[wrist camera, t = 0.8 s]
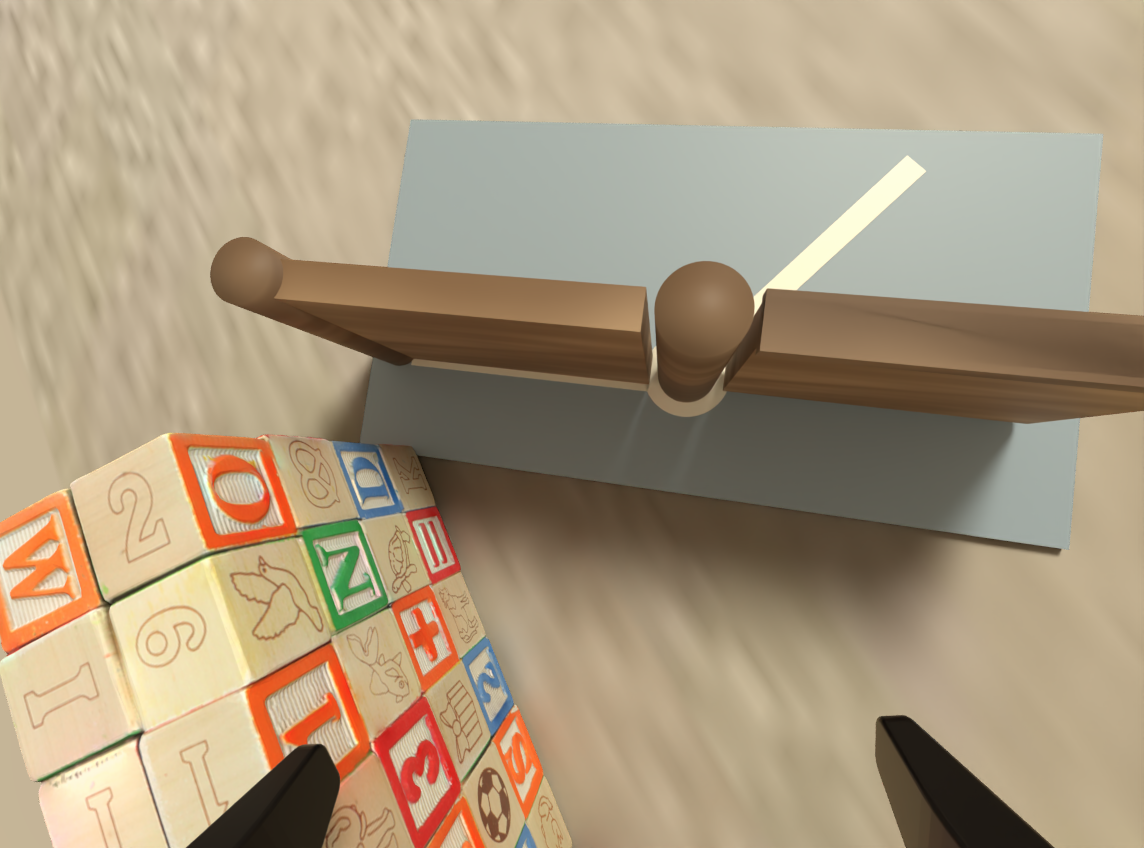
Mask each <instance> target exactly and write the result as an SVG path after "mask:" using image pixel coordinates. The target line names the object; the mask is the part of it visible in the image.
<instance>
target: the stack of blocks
mask: <svg viewBox="0 0 1144 848" xmlns="http://www.w3.org/2000/svg"><path fill="white" fill-rule="evenodd" d="M70 488H71V489H64V490H61V491H58V492H55V493H53V494H51V495H49V496H47V497H45V498H43V499H42V500H40V501H38V502H36V503H34V504H33V505H31V506H29V507H27V508H25V509H23V510H22V511H20V512H18V513H16V514H15V515H13V516H11V517H9V518H7V519H5V520H4V521H2V522H0V640H1V644H2V648H3V650H4V651H5V652H6V653H7V654H8V655H7V656H6V657H5V658H4V659H3V660H1V661H0V676H1V679H2V683H3V687H4V691H5V694H6V698H7V702H8V705H9V709H10V712H11V716H12V719H13V723H14V727H15V730H16V733H17V737H18V741H19V744H20V748H21V751H22V755H23V758H24V761H25V765H26V768H27V771H28V775H29V777H30V779H31V780H32V781H34V782H42V784H41V787H40V790H39V797H38V798H39V803H40V806H41V810H42V813H43V817H44V820H45V823H46V826H47V829H48V832H49V835H50V839H51V842H52V845H53V848H186V847H187V846H188V845H189V844H190V843H191V842H192V841H194V840H195V839H196V838H197V837H198V836H199V835H200V834H201V833H202V832H203V831H205V830H206V829H207V828H208V827H209V826H210V825H211V824H212V823H213V822H214V821H216V820H217V819H218V818H219V817H220V816H221V815H222V814H223V813H224V812H225V811H227V810H228V809H229V808H230V807H231V806H232V805H233V804H234V803H235V802H236V801H238V800H239V799H240V798H241V797H242V796H243V795H244V794H245V793H246V792H248V791H249V790H250V789H251V788H252V787H253V786H254V785H255V784H256V783H257V782H259V781H260V780H261V779H262V778H263V777H264V776H265V775H266V774H267V773H268V772H270V771H271V770H272V769H273V768H274V767H275V766H276V765H277V764H278V763H279V762H281V761H282V760H283V759H284V758H285V757H286V756H287V755H288V754H289V753H290V752H292V751H293V750H294V749H295V748H297V747H298V746H300V745H304V744H322V745H324V746H325V747H326V748H327V750H328V752H329V754H330V756H331V758H332V760H333V762H334V764H335V766H336V768H337V770H338V772H339V774H340V789H339V793H338V796H337V800H336V803H335V806H334V810H333V813H332V816H331V820H330V823H329V826H328V830H327V833H326V837H325V840H324V843H323V847H322V848H571V847H572V841H571V838H570V835H569V833H568V831H567V828H566V826H565V823H564V821H563V818H562V815H561V813H560V811H559V808H558V806H557V803H556V801H555V799H554V796H553V794H552V791H551V789H550V786H549V784H548V782H547V779H546V778H545V776H544V775H543V770H542V767H541V764H540V761H539V758H538V756H537V754H536V751H535V749H534V746H533V744H532V741H531V739H530V736H529V733H528V731H527V728H526V726H525V723H524V721H523V719H522V716H521V714H520V711H519V709H518V706H516V705H515V704H514V703H513V699H512V696H511V693H510V691H509V688H508V686H507V684H506V681H505V679H504V676H503V674H502V671H501V669H500V666H499V664H498V661H497V659H496V656H495V654H494V652H493V649H492V646H491V644H490V641H489V639H488V638H487V637H486V635H485V631H484V628H483V625H482V623H481V620H480V618H479V616H478V613H477V611H476V608H475V606H474V603H473V601H472V599H471V596H470V594H469V591H468V589H467V586H466V583H465V581H464V578H463V576H462V574H461V572H460V570H461V568H460V564H459V561H458V559H457V556H456V554H455V551H454V549H453V546H452V544H451V541H450V539H449V536H448V534H447V531H446V529H445V526H444V524H443V521H442V518H441V516H440V513H439V511H438V509H437V507H436V506H435V501H434V497H433V495H432V492H431V490H430V487H429V485H428V482H427V480H426V477H425V475H424V472H423V470H422V467H421V465H420V462H419V460H418V457H417V455H416V453H415V450H414V449H413V448H412V446H407V445H392V444H390V445H389V444H376V445H373V444H365V443H351V442H340V441H328V440H326V439H322V438H312V437H298V436H285V435H262V436H260V437H258V438H246V437H232V436H217V435H201V434H186V433H167V434H163V435H161V436H159V437H157V438H155V439H154V440H152V441H150V442H148V443H146V444H144V445H143V446H141V447H139V448H137V449H135V450H133V451H131V452H129V453H127V454H125V455H124V456H122V457H120V458H118V459H116V460H114V461H112V462H110V463H108V464H107V465H105V466H103V467H101V468H99V469H97V470H95V471H93V472H91V473H89V474H87V475H85V476H83V477H81V478H79V479H77V480H75V481H73V482H72V483H71V484H70Z"/></svg>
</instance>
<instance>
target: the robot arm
mask: <svg viewBox="0 0 1144 848" xmlns="http://www.w3.org/2000/svg"><path fill="white" fill-rule="evenodd" d="M875 757H876V763H877V767H878V770H879V773H880V776H881V779H882V782H883V785H884V788H885V790H886V793H887V796H888V799H889V802H890V804H891V807H892V810H893V813H894V816H895V819H896V821H897V824H898V827H899V830H900V833H901V835H902V838H903V841H904V844H905V847H906V848H1054V847H1053V846H1052V845H1051V844H1050V843H1049V842H1048V841H1047V840H1045V839H1044V838H1043V837H1042V836H1041V835H1040V834H1039V833H1038V832H1037V831H1035V830H1034V829H1033V828H1032V827H1031V826H1030V825H1029V824H1028V823H1027V822H1025V821H1024V820H1023V819H1022V818H1021V817H1020V816H1019V815H1018V814H1017V813H1015V812H1014V811H1013V810H1012V809H1011V808H1010V807H1009V806H1008V805H1007V804H1005V803H1004V802H1003V801H1002V800H1001V799H1000V798H999V797H998V796H997V795H996V794H994V793H993V792H992V791H991V790H990V789H989V788H988V787H987V786H986V785H984V784H983V783H982V782H981V781H980V780H979V779H978V778H977V777H976V776H974V775H973V774H972V773H971V772H970V771H969V770H968V769H967V768H966V767H964V766H963V765H962V764H961V763H960V762H959V761H958V760H957V759H956V758H954V757H953V756H952V755H951V754H950V753H949V752H948V751H947V750H946V749H945V748H943V747H942V746H941V745H940V744H939V743H938V742H937V741H936V740H935V739H933V738H932V737H931V736H930V735H929V734H928V733H927V732H926V731H925V730H923V729H922V728H921V727H920V726H919V725H918V724H917V723H916V722H915V721H913V720H912V719H911V718H909V717H907V716H904V715H896V716H881V717H879V718H878V719H877V721H876V742H875ZM339 789H340V774H339V772H338V770H337V768H336V766H335V764H334V762H333V760H332V758H331V756H330V754H329V752H328V750H327V748H326V747H325V746H324V745H322V744H304V745H300V746H298V747H297V748H295V749H294V750H293V751H292V752H290V753H289V754H288V755H287V756H286V757H285V758H284V759H283V760H282V761H281V762H279V763H278V764H277V765H276V766H275V767H274V768H273V769H272V770H271V771H270V772H268V773H267V774H266V775H265V776H264V777H263V778H262V779H261V780H260V781H259V782H257V783H256V784H255V785H254V786H253V787H252V788H251V789H250V790H249V791H248V792H246V793H245V794H244V795H243V796H242V797H241V798H240V799H239V800H238V801H236V802H235V803H234V804H233V805H232V806H231V807H230V808H229V809H228V810H227V811H225V812H224V813H223V814H222V815H221V816H220V817H219V818H218V819H217V820H216V821H214V822H213V823H212V824H211V825H210V826H209V827H208V828H207V829H206V830H205V831H203V832H202V833H201V834H200V835H199V836H198V837H197V838H196V839H195V840H194V841H192V842H191V843H190V844H189V845H188V846H187V847H186V848H322V847H323V843H324V840H325V837H326V833H327V830H328V826H329V823H330V820H331V816H332V813H333V810H334V806H335V803H336V800H337V796H338V793H339Z"/></svg>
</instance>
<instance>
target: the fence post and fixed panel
mask: <svg viewBox="0 0 1144 848" xmlns="http://www.w3.org/2000/svg"><path fill="white" fill-rule="evenodd" d="M210 277H211V283H212V286H213V289H214V291H215V293H216V294H217V295H218V296H219V297H220V298H221V299H222V300H224V301H226V302H228V303H230V304H233V305H236V306H238V307H241V308H244V309H246V310H249V311H252V312H254V313H257V314H260V315H262V316H265V317H268V318H270V319H273V320H276V321H278V322H281V323H284V324H286V325H289V326H292V327H294V328H297V329H300V330H302V331H305V332H308V333H310V334H313V335H316V336H318V337H321V338H324V339H326V340H329V341H332V342H334V343H337V344H340V345H342V346H345V347H348V348H350V349H353V350H356V351H358V352H361V353H364V354H366V355H369V356H372V357H374V358H377V359H380V360H382V361H385V362H388V363H390V364H393V365H397V366H402V365H406V364H408V363H410V362H412V360H413V359H421V360H430V361H439V362H448V363H457V364H466V365H476V366H485V367H494V368H503V369H512V370H521V371H530V372H540V373H549V374H558V375H567V376H576V377H585V378H594V379H604V380H613V381H622V382H631V383H640V384H649V383H650V375H651V367H652V360H653V353H652V343H651V332H650V321H649V311H648V300H647V289H646V287H642V286H629V285H615V284H602V283H589V282H576V281H563V280H550V279H537V278H524V277H511V276H497V275H484V274H471V273H458V272H445V271H432V270H419V269H406V268H392V267H379V266H366V265H353V264H340V263H327V262H314V261H301V260H291V259H290V258H288V257H286V256H284V255H282V254H281V253H279V252H277V251H275V250H273V249H272V248H270V247H268V246H266V245H264V244H263V243H261V242H259V241H257V240H255V239H253V238H248V237H240V238H236V239H233V240H231V241H229V242H227V243H226V244H225V245H224V246H223V247H222V248H221V249H220V250H219V251H218V252H217V254H216V256H215V258H214V260H213V262H212V266H211V272H210ZM754 309H755V305H754V298H753V293H752V291H751V288H750V286H749V285H748V283H747V281H746V280H745V279H744V278H743V276H742V275H740V274H739V273H738V272H737V271H736V270H734V269H733V268H731V267H729V266H727V265H725V264H722V263H718V262H713V261H699V262H694V263H690V264H687V265H685V266H683V267H681V268H679V269H677V270H676V271H674V272H673V273H672V274H671V275H670V276H669V277H668V278H667V279H666V280H665V281H664V282H663V284H662V285H661V287H660V289H659V291H658V293H657V296H656V300H655V306H654V315H655V333H656V351H657V368H658V380H659V384H660V386H661V388H662V390H663V391H664V393H665V394H666V395H667V396H669V397H670V398H672V399H673V400H676V401H679V402H685V403H688V402H695V401H698V400H700V399H702V398H703V397H705V396H706V395H707V394H708V393H709V392H710V391H711V389H712V388H713V386H714V384H715V383H716V381H717V380H718V378H719V376H720V375H721V373H722V372H723V370H724V368H725V367H726V365H727V364H728V362H729V361H730V359H731V357H732V356H733V354H734V353H735V351H736V349H737V348H738V346H739V345H740V343H741V342H742V340H743V338H744V337H745V335H746V334H747V332H748V330H749V328H750V326H751V324H752V321H753V317H754Z"/></svg>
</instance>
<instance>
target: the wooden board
mask: <svg viewBox="0 0 1144 848" xmlns="http://www.w3.org/2000/svg"><path fill="white" fill-rule="evenodd" d="M723 391H729V392H738V393H747V394H756V395H765V396H775V397H784V398H793V399H802V400H811V401H820V402H830V403H839V404H848V405H857V406H866V407H876V408H885V409H894V410H903V411H912V412H922V413H931V414H940V415H949V416H958V417H967V418H977V419H986V420H995V421H1004V422H1013V423H1023V424H1032V423H1041V422H1049V421H1058V420H1067V419H1075V418H1084V417H1093V416H1101V415H1110V414H1119V413H1127V412H1136V411H1144V316H1138V315H1124V314H1111V313H1097V312H1083V311H1070V310H1056V309H1043V308H1029V307H1016V306H1002V305H988V304H975V303H961V302H948V301H934V300H920V299H907V298H893V297H880V296H866V295H853V294H839V293H825V292H812V291H798V290H785V289H771V288H767V289H766V291H765V293H764V294H763V297H762V304H761V305H760V307H759V309H758V310H757V312H756V314H755V315H754V317H753V321H752V324H751V326H750V328H749V330H748V332H747V334H746V335H745V337H744V338H743V340H742V342H741V343H740V345H739V346H738V348H737V349H736V351H735V353H734V354H733V356H732V357H731V359H730V361H729V362H728V364H727V365H726V367H725V375H724V384H723Z"/></svg>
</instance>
